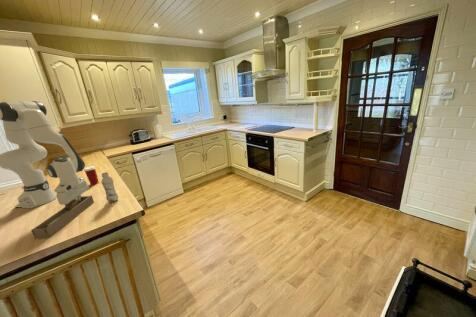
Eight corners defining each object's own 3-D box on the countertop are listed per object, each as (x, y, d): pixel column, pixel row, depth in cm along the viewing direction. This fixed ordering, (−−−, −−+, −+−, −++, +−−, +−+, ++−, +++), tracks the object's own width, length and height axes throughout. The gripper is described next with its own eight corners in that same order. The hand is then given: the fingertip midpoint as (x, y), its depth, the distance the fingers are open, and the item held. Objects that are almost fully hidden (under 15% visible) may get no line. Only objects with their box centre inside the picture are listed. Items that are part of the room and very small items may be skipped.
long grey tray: (35, 238, 103) (30, 230, 101) (82, 203, 135) (80, 196, 133) (49, 237, 103) (45, 229, 101) (94, 202, 135) (91, 195, 133)
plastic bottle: (110, 199, 138) (102, 172, 131) (120, 197, 138) (112, 171, 131) (105, 204, 131) (96, 176, 125) (116, 202, 132) (107, 174, 125)
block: (67, 211, 121) (64, 204, 119) (73, 206, 125) (70, 200, 123) (74, 210, 121) (72, 204, 119) (80, 206, 125) (77, 200, 123)
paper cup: (102, 181, 168) (97, 166, 164) (92, 186, 162) (87, 169, 157) (96, 180, 171) (91, 165, 167) (87, 184, 165) (81, 169, 160)
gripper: (78, 176, 132) (85, 195, 136) (51, 191, 113) (60, 212, 117) (87, 175, 132) (94, 194, 136) (62, 190, 113) (71, 211, 117)
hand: (78, 203), depth 127 cm, fingers closed
